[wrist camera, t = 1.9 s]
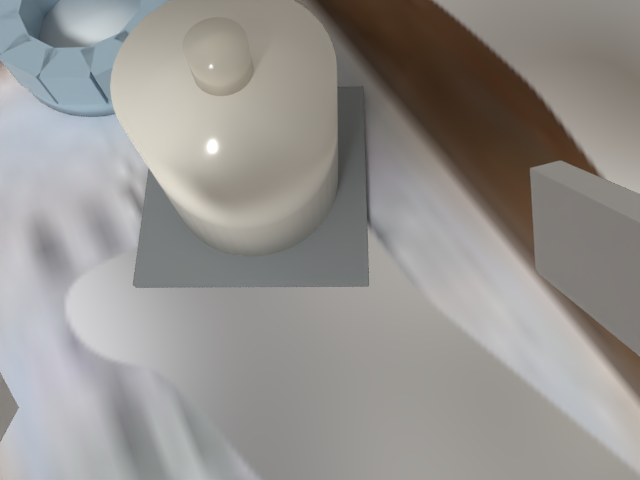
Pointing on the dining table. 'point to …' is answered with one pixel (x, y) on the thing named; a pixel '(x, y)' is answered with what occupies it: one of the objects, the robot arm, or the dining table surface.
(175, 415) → the dining table surface
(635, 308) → the robot arm
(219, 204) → the cover
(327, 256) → the mat
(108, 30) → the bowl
